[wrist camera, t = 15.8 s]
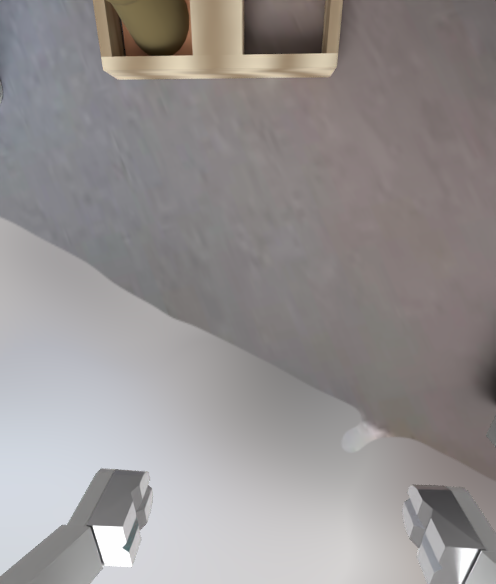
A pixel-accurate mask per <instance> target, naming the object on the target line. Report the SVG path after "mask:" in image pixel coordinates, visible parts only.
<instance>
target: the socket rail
mask: <svg viewBox="0 0 496 584" xmlns="http://www.w3.org/2000/svg"><path fill="white" fill-rule="evenodd" d="M185 2H186V4H187V8H188V13H189V30H188V34H187V38H186V40H185V42H184V44H183V45H182V47H181V48H180V50H178V51H177V52H176V53H175V54H173V55H172V56H151V55H149V54H147V53H145V52H144V51H143V50H142V49H141V48H140V47H139V46H138V45H137V44H136V43H135V41H134V39H133V38H132V36H131V35H130V33H129V31H128V30H127V28H126V26H125V25H124V23H123V22H122V28H123V36H124V44H125V52H126V56H125V55H124V47H123V39H122V31H121V23H120V17H119V15H118V13H117V12H116V10H115V9H114V7H113V5H112V4H111V3H110V2H108V1H106V0H93V5H94V11H95V18H96V25H97V31H98V38H99V45H100V51H101V58H102V65H103V70H104V71H106V72H107V73H109V74H110V75H112V76H113V77H115V78H116V79H118V80H126V79H212V78H297V77H330V76H331V75H332V73H333V72H334V70H335V69H336V67H337V58H338V48H339V37H340V27H341V16H342V6H343V0H326V1H325V14H324V27H323V40H322V53H319V54H254V55H244V0H185Z"/></svg>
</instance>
